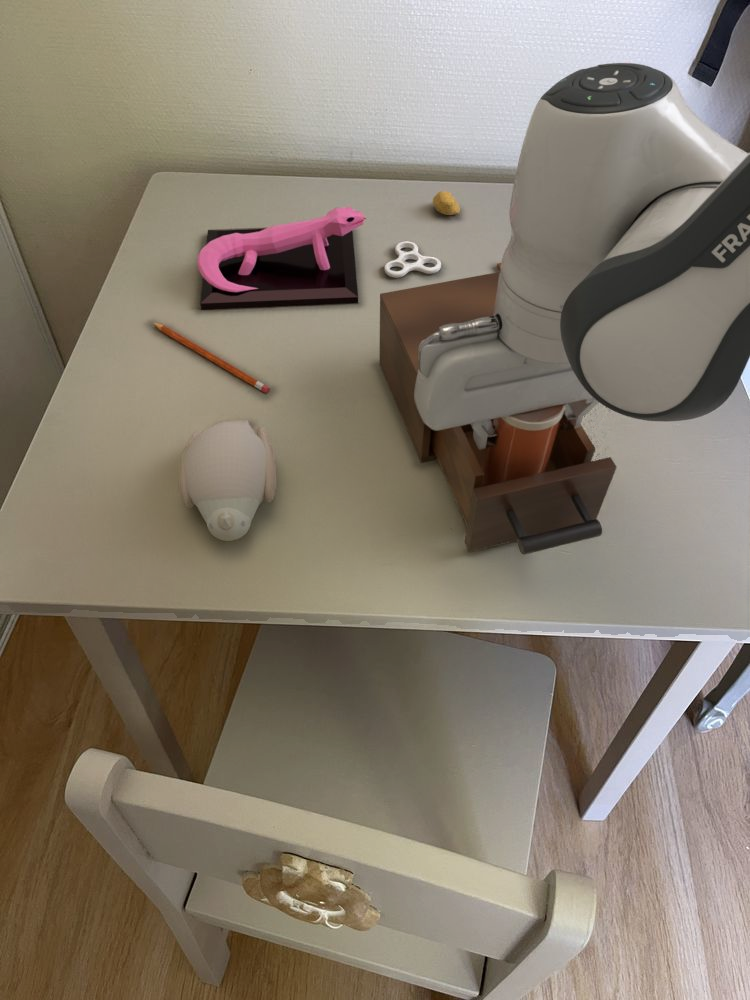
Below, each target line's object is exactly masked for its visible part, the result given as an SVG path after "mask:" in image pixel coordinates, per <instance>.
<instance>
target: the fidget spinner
mask: <svg viewBox="0 0 750 1000" xmlns="http://www.w3.org/2000/svg"><path fill="white" fill-rule="evenodd" d="M403 248H409V249H412V250H410V251H404V250H401V249H403ZM394 253H395V254H396V255H397V256H398V257H397V258H395V259H393V260H389V261H388V262H386V264H385V265H384V266H383V267H384V268H383V269H384V273H385V274H386V275H387V276H388V277H391V278H401V277H404V276H406V275H407V274H408V273H409V272H412V271H413V272H414V271H418V272H422V273H424V274H428V275H429V274H431V275H432V274H436V273H438V272H439V271H440V270H441V268H442V263H441V262H442V261H441V260H440V259H439V258H437V257H436V256H435V257H434V256H427V255H422V254H421V253H419V247H418V245H417V244H416V243H415V242H412V241H407V240H406V241H401V242H399V243H397V244H396V245H395V247H394ZM407 260H414V261H415V262H407ZM428 263H429V264H430V263H431V264H433V265H434V266H432V267H429V266H425V264H428ZM393 267H398V268H401V269H400V270H392V269H391V268H393Z"/></svg>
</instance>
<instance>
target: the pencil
mask: <svg viewBox="0 0 750 1000" xmlns="http://www.w3.org/2000/svg"><path fill="white" fill-rule="evenodd" d="M152 323H153V325H155V327H156V328H157V329H158V330H159V331H161V332H162V333H163V334H166V335H167V336H168V337H170V338H171V339H174V340H176V341H177V342H179V343H180V344H181V345H184V346H186V347H187V348H189V349H191V350H192V351H194V352H196V353H197V354H199V355H201V356H202V357H204V358H206V359H207V360H209V361H211V362H213V363H214V364H216V365H218V367H219V366H220V367H221V368H223V369H224V370H226V371H228V372H229V373H231V374H233V375H234V376H236V377H238V378H240V379H241V380H243V381H244V382H246V383H248V384H249V385H251V386H253V387H254V388H256V389H258V390H260V391H261V392H263V393H264V394H268V393H270V390H271V388H270V386H268V385H266V384H264V383H262V382H261V381H260V380H257V379H256V378H254V377H253V376H251V375H249V374H247V373H246V372H244V371H243V370H241V369H239V368H238V367H235V366H234V365H232V364H231V363H229V362H227V361H226V360H224V359H222V358H220V357H219V356H217V355H216V354H213V353H212V352H210V351H208V350H207V349H205V348H203V347H202V346H200V345H198V344H197V343H194V342H193V341H191V340H190V339H188V338H186V337H185V336H183V335H182V334H180V333H178V332H176V331H174V330H173V329H171V328H169V327H168V326H166V325H164V324H161V323H158V322H152Z"/></svg>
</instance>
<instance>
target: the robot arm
mask: <svg viewBox="0 0 750 1000" xmlns="http://www.w3.org/2000/svg"><path fill="white" fill-rule="evenodd" d="M522 141H523V142H522V146H521V149H520V153H519V158H518V162H517V167H516V171H515V177H514V181H513V186H512V192H511V197H510V203H509V222H510V223H509V224H510V227H511V228H510V229H511V235H510V239H509V243H508V244H507V246H506V247H505V249H504V252H503V255H502V257H501V262H500V263H501V268H500V271H499V272H500V274H499V280H498V286H497V293H496V299H495V306H494V312H493V316H489V317H483V318H478V319H474V320H471V321H468V322H464V323H459V324H456V323H451V324H447V325H444V326H441V327H439V328H438V332H436V333H434V334H432V335H430V336H429V337H427V338H426V339H425V340H423V341H422V342H421V343H420V345H419V350H418V374H417V378H416V384H415V391H414V400H415V404H416V407H417V409H418V412H419V414H420V416H421V418H422V420H423V422H424V423H425V424H426V425H427V426H428V427H430V428H431V429H432V430H435V431H438V430H443V429H448V428H453V427H457V426H462V425H467V424H471V426H472V428H473V429H474V431H473V438H474V441H475V443H476V445H477V447H478V449H479V450H481V449H485V448H488V447H493V446H496V440H497V437H498V433H497V431H496V429H494V428H493V424H492V422H491V419H495V418H500V417H505V416H509V415H514V414H519V413H524V412H528V411H533V410H538V409H543V408H547V407H552V406H557V405H562V404H566V403H567V404H566V407H565V411H564V414H563V416H562V418H561V420H560V424H559V425H561V429H562V431H567V430H572V429H577V428H579V427H580V425H581V426H582V422H583V419H584V417H585V416H586V415H588V413H589V412H591V411H592V410H593V409H594V408H595V407H596V406H597V405H598V404H600V405H602V406H604V407H605V408H607V409H609V410H611V411H613V412H614V413H617V414H620V415H622V416H625V417H628V418H631V419H637V420H640V421H641V420H642V421H647V422H681V421H689V420H694V419H698V418H702V417H704V416H706V415H709V414H710V413H712V412H714V411H716V410H717V409H718V408H720V407H721V406H722V405H723V404H725V403H726V401H727V400H728V399H729V398H730V396H731V395H732V394H733V393H734V391H735V389H736V388H737V386H738V383H739V382H740V380H741V378H742V375H743V373H744V371H745V369H746V366H747V365H748V362H749V360H750V151H749V152H746V151H745V150H743V149H742V148H741V147H738V146H737V145H735V144H733V143H732V142H730V141H729V140H727V139H726V138H724V137H723V136H722V135H720V134H719V133H718V132H716V130H713V128H711V127H710V126H709V125H708V124H706V123H705V122H704V121H703V120H702V119H701V118H700V117H699V116H698V115H697V114H696V113H695V112H694V111H693V110H692V109H691V107H690V106H689V105H688V103H687V102H686V99H685V98H684V96H683V94H682V92H681V90H680V87H679V86H678V85H677V83H676V82H675V80H674V79H673V78H672V77H671V76H670V75H668V74H667V73H666V72H663V71H661V70H660V69H657V68H654V67H651V66H649V65H646V64H640V63H633V62H612V63H601V64H597V65H595V66H590V67H587V68H581V69H578V70H576V71H574V72H572V73H570V74H568V75H566V76H565V77H563V78H562V79H560V80H559V81H557V82H556V83H554V85H552V86H551V87H550V88H549V89H547V91H546V92H544V93H543V94H542V96H541V97H539V99H538V101H537V103H536V104H535V107H534V109H533V111H532V114H531V116H530V118H529V122H528V125H527V128H526V131H525V135H524V138H523V140H522Z"/></svg>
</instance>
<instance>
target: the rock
mask: <svg viewBox="0 0 750 1000" xmlns="http://www.w3.org/2000/svg"><path fill="white" fill-rule="evenodd" d="M432 204H433V207H434V209H435V210H436V211H437V212H439V213H440V214H442V215H445V216H446V215H447V216H454V215H457V214H459V213H460V212H461V208H460V205H459V203H458V201H457V200H456V199H455V197H454V195H453V194H452V193H451V192H449V191H446V190H443V191H439V192H437V193H436V194H435V196H433V198H432Z"/></svg>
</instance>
